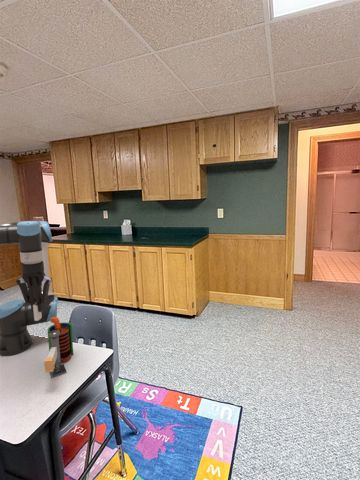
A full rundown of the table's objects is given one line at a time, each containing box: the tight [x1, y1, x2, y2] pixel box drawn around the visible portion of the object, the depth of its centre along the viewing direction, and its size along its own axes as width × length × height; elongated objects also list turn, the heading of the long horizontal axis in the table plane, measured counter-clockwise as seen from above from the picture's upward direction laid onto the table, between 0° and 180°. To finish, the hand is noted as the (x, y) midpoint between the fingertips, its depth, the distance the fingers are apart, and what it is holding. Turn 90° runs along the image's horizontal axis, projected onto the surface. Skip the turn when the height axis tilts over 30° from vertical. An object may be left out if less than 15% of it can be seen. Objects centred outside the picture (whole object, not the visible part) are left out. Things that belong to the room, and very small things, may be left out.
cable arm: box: [44, 347, 57, 374], centre depth 104 cm, size 3×10×5 cm, turn 15°
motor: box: [47, 316, 74, 365], centre depth 120 cm, size 10×9×20 cm
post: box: [47, 330, 68, 379], centre depth 111 cm, size 6×6×18 cm
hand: (38, 319), depth 104 cm, fingers closed
